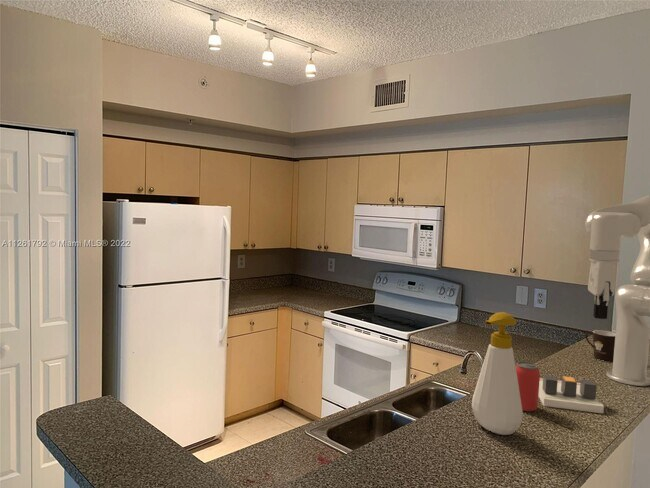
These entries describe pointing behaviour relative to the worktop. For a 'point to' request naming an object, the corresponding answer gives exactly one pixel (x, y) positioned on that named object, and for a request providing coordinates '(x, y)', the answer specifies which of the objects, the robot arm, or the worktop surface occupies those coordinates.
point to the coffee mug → (603, 344)
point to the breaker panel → (555, 398)
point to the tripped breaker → (568, 386)
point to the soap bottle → (498, 383)
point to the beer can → (528, 385)
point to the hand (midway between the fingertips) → (600, 317)
